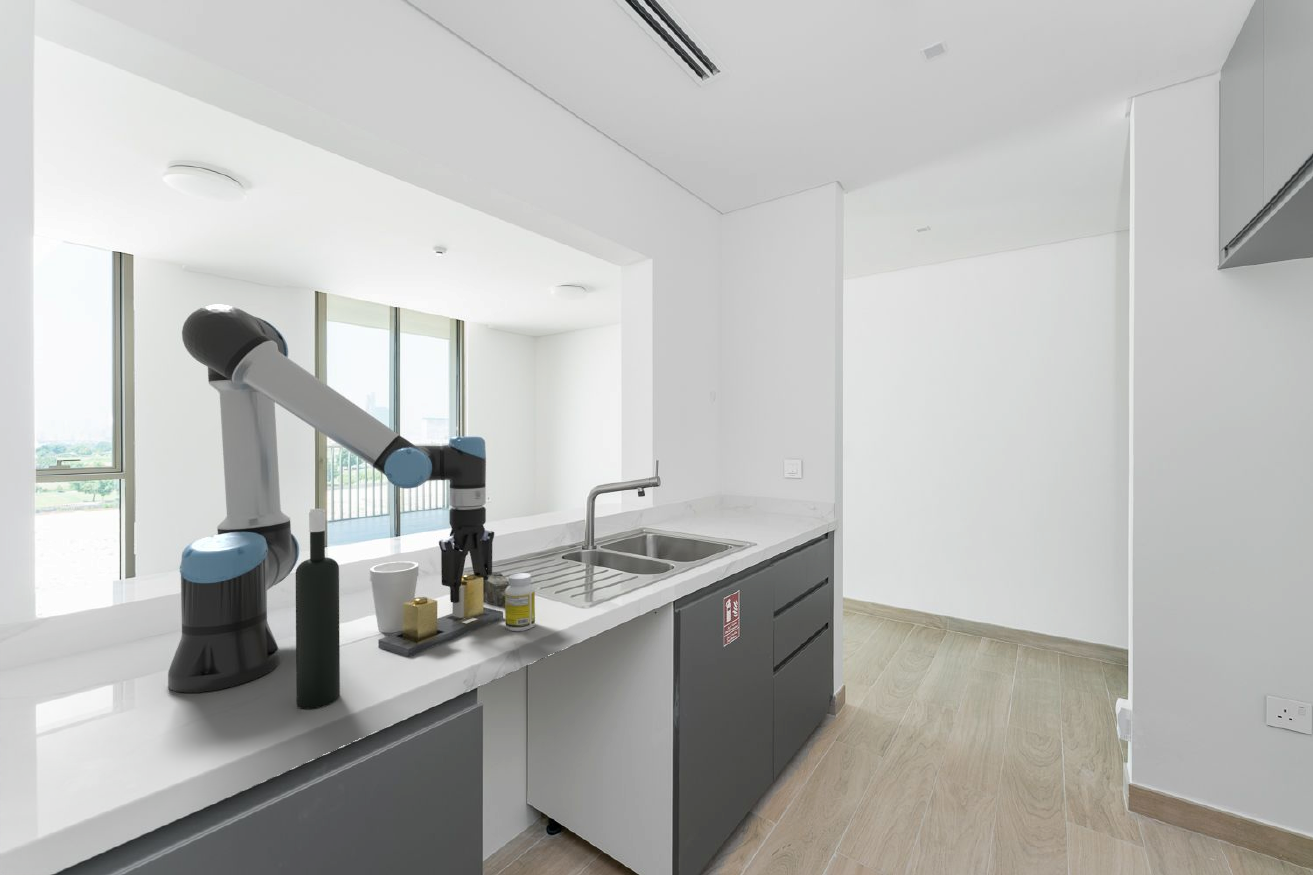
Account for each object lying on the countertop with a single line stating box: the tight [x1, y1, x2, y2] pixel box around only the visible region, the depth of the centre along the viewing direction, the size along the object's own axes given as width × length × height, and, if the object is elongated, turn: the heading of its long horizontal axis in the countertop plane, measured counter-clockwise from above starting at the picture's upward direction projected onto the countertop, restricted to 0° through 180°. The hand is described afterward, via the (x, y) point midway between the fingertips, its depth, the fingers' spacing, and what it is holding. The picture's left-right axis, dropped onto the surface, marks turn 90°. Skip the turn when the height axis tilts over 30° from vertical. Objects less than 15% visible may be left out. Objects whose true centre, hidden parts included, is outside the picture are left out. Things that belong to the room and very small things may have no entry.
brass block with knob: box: [402, 596, 438, 643], centre depth 109 cm, size 4×4×9 cm
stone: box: [483, 571, 510, 607], centre depth 136 cm, size 14×7×10 cm, turn 55°
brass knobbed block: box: [461, 573, 484, 620], centre depth 119 cm, size 4×4×9 cm
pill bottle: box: [504, 572, 536, 632], centre depth 117 cm, size 6×6×11 cm
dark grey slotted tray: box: [377, 606, 504, 658], centre depth 114 cm, size 24×9×2 cm, turn 150°
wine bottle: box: [295, 507, 341, 710], centre depth 85 cm, size 6×6×30 cm
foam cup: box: [369, 560, 420, 634], centre depth 117 cm, size 10×9×13 cm
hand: (467, 612), depth 119 cm, fingers closed on brass knobbed block, 4 cm apart
